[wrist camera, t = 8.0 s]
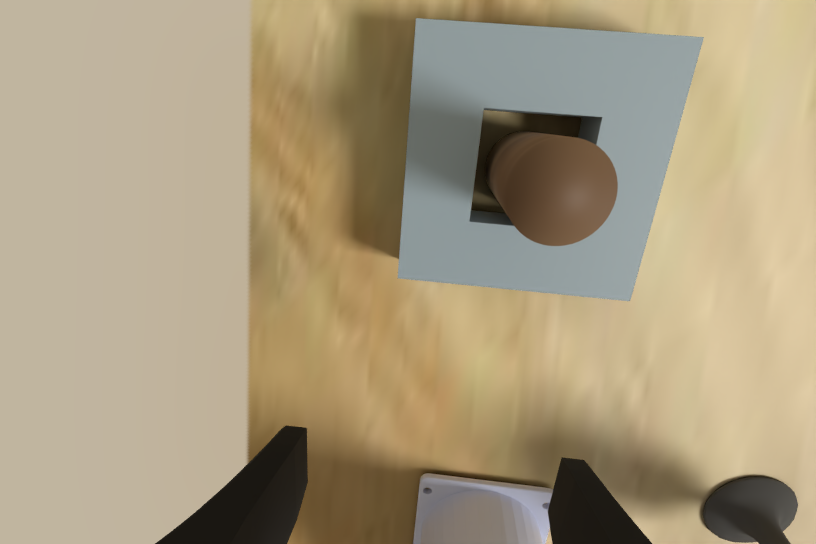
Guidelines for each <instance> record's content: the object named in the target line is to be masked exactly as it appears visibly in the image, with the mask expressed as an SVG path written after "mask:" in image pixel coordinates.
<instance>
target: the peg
mask: <svg viewBox="0 0 816 544" xmlns="http://www.w3.org/2000/svg"><path fill="white" fill-rule="evenodd" d="M485 177H486V181H487V184H488V186H489V188H490V189H491V191H492V193H493V194H494V196H495V197H496V199H497V200H498V202H499V203H500V205H501V206H502V208H503V209H504V211H505V212H506V214H507V216H508V217H509V219H510V220H511V222H512V223H513V225H514V226H515V227H516V229H517V230H518V231H519V232H520V233H521V234H522V235H524V236H525V237H526V238H528V239H530V240H531V241H534V242H536V243H539V244H542V245H547V246H565V245H569V244H573V243H576V242H579V241H581V240H583V239H585V238H587V237H588V236H590V235H591V234H593V233H594V232H595V231H596V230H598V229H599V228H600V227H601V226H602V225H603V223H604V222H605V221H606V219H607V218H608V217H609V215H610V213H611V211H612V209H613V207H614V204H615V201H616V197H617V191H618V181H617V175H616V171H615V168H614V166H613V163H612V161H611V160H610V158H609V157H608V156H607V154H606V153H605V152H604V151H603V150H602V149H601V148H600V147H598V146H597V145H595V144H594V143H592V142H590V141H587V140H585V139H581V138H576V137H568V136H560V135H552V134H544V133H536V132H528V131H520V132H515V133H511V134H509V135H507V136H505V137H503V138H502V139H501V140H499V141H498V142H497V143H496V144H495V145H494V146H493V148H492V149H491V151H490V152H489V155H488V157H487V160H486V164H485Z"/></svg>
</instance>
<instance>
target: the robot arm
mask: <svg viewBox="0 0 816 544" xmlns="http://www.w3.org/2000/svg"><path fill="white" fill-rule="evenodd" d="M307 483H308V477H307V428H302V427H293V426H285V427H283V428H282V429H281V430H280V431H279V432H278V433H277V434H276V435H275V437H274V438H273V439H272V440H271V441H270V442H269V443H268V444H267V445H266V446H265V447H264V448H263V449H262V450H261V451H260V452H259V453H258V454H257V455H256V456H255V457H254V458H253V459H252V460H251V461H250V462H249V463H248V464H247V465H246V466H245V467H244V468H243V469H242V470H241V471H240V472H239V473H238V474H237V475H236V476H235V477H234V478H233V479H232V480H231V481H230V482H229V483H228V484H227V485H226V486H225V487H224V488H222V489H221V490H220V491H219V492H218V493H217V494H216V495H214V496H213V497H212V498H211V499H210V500H209V501H208V502H207V503H205V504H204V505H203V506H202V507H201V508H200V509H199V510H197V511H196V512H195V513H194V514H193V515H191V516H190V517H189V518H188V519H187V520H185V521H184V522H183V523H182V524H181V525H179V526H178V527H176V528H175V529H174V530H173V531H171V532H170V533H169V534H167V535H166V536H165V537H164V538H162V539H161V540H160V541H158V542H157V543H155V544H287V542H288V540H289V537H290V535H291V533H292V530H293V528H294V525H295V523H296V520H297V517H298V514H299V510H300V507H301V504H302V500H303V497H304V493H305V490H306V486H307ZM426 488H430V489H426ZM547 502H548V503H547ZM544 503H545V504H544ZM549 528H550V530H551V536H552V542H553V544H652V543H651V542H650V541H649V539H648V538H647V537H646V536H645V535H644V534H643V532H642V531H641V530H640V529H639V528H638V526H637V525H636V524H635V523H634V522H633V520H632V519H631V518H630V517H629V516H628V514H627V513H626V512H625V511H624V510H623V508H622V507H621V506H620V505H619V503H618V502H617V501H616V500H615V498H614V497H613V496H612V495H611V493H610V492H609V491H608V490H607V488H606V487H605V486H604V485H603V483H602V482H601V481H600V479H599V478H598V477H597V476H596V474H595V473H594V472H593V471H592V469H591V468H590V467H589V466H588V464H587V463H586V462H585V461H584V460H579V459H570V458H562V459H561V462H560V466H559V470H558V474H557V478H556V481H555V485H554V489H550V488H545V487H536V486H528V485H520V484H512V483H504V482H496V481H488V480H479V479H471V478H463V477H455V476H447V475H439V474H431V473H426V474H423V475H422V476H421V478H420V484H419V493H418V503H417V512H416V521H415V530H414V539H413V544H546V540H547V536H548V532H549Z"/></svg>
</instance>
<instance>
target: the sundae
mask: <svg viewBox="0 0 816 544" xmlns="http://www.w3.org/2000/svg"><path fill="white" fill-rule="evenodd" d="M797 507H798V503H797V498H796V496H795V493H794V492H793V491H792V490H791V488H790V487H788V486H787V485H786V484H784V483H783V482H780V481H778V480H775V479H771V478H767V477H746V478H742V479H738V480H735V481H731V482H729V483H727V484H725V485H723V486H722V487H720V488H719V489H717V490H716V491H715V492H714V493H713V494H712V495H711V496H710V498H709V499H708V501H707V502H706V504H705V508H704V513H703V518H704V521H705V524H706V526H707V528H708V529H709V530H710V531H711V532H712V533H714V534H715V535H717V536H718V537H719V538H722V539H725V540H728V541H732V542H758V543H759V544H790V542H789V541H788V539H787V538H786V536H785V535H784V533H783V531H784V530H785V529H786V528H787V527H788V526H789V525H790V524H791V522H792V521H793V520H794V518H795V515H796V511H797Z"/></svg>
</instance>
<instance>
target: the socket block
mask: <svg viewBox="0 0 816 544" xmlns="http://www.w3.org/2000/svg"><path fill="white" fill-rule="evenodd" d="M703 38H704V37H691V36H676V35H661V34H646V33H631V32H616V31H601V30H586V29H571V28H556V27H541V26H526V25H511V24H496V23H481V22H465V21H450V20H435V19H420V18H416V26H415V40H414V54H413V68H412V83H411V97H410V111H409V125H408V139H407V154H406V168H405V182H404V196H403V210H402V225H401V239H400V253H399V267H398V278H400V279H410V280H421V281H431V282H441V283H451V284H461V285H471V286H481V287H491V288H501V289H511V290H522V291H532V292H542V293H552V294H562V295H572V296H582V297H592V298H602V299H612V300H623V301H630V299H631V296H632V292H633V289H634V285H635V282H636V278H637V274H638V271H639V267H640V264H641V260H642V256H643V253H644V249H645V246H646V242H647V239H648V235H649V231H650V228H651V224H652V221H653V217H654V214H655V210H656V206H657V203H658V199H659V196H660V192H661V188H662V185H663V181H664V178H665V174H666V171H667V167H668V163H669V160H670V156H671V153H672V149H673V145H674V142H675V138H676V135H677V131H678V128H679V124H680V120H681V117H682V113H683V110H684V106H685V103H686V99H687V95H688V92H689V88H690V85H691V81H692V77H693V74H694V70H695V67H696V63H697V60H698V56H699V52H700V49H701V45H702V42H703ZM484 110H490V111H503V112H516V113H529V114H542V115H555V116H568V117H581V118H582V120H581V125H580V129H579V134H578V138H581V139H585V140H587V141H590V142H592V143H594V144H595V145H597V146H598V147H600V148H601V149H602V150H603V151H604V152H605V153H606V154H607V156H608V157H609V158H610V160H611V161H612V163H613V166H614V168H615V171H616V175H617V181H618V191H617V197H616V201H615V204H614V207H613V209H612V211H611V213H610V215H609V217H608V218H607V219H606V221H605V222H604V223H603V225H602V226H601V227H600V228H599V229H598V230H596V231H595V232H594V233H593V234H591V235H590V236H588V237H587V238H585V239H583V240H581V241H579V242H576V243H573V244H569V245H565V246H547V245H542V244H539V243H536V242H534V241H531V240H530V239H528V238H526V237H525V236H524V235H522V234H521V233H520V232H519V231H518V230H517V229H516V227H515V226H514V225H513V223H512V222H511V220H510V219H509V217H508V216H507V214H506V213H496V212H485V211H474V210H471V205H472V197H473V189H474V182H475V174H476V166H477V158H478V150H479V142H480V134H481V126H482V118H483V111H484Z"/></svg>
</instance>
